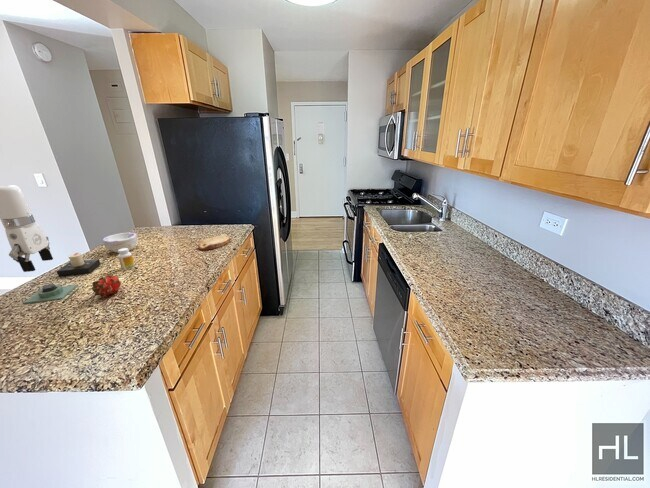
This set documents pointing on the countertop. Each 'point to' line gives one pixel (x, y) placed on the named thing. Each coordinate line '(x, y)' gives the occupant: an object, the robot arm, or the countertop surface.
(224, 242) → the bread slice
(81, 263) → the knob
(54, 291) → the button box
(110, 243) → the paper bowls
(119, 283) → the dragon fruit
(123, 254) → the supplement bottle
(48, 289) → the button
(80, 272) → the panel
